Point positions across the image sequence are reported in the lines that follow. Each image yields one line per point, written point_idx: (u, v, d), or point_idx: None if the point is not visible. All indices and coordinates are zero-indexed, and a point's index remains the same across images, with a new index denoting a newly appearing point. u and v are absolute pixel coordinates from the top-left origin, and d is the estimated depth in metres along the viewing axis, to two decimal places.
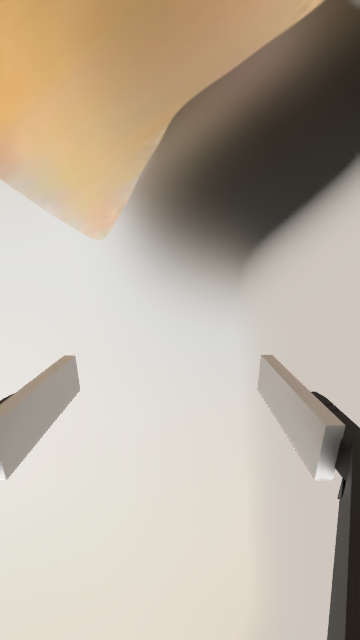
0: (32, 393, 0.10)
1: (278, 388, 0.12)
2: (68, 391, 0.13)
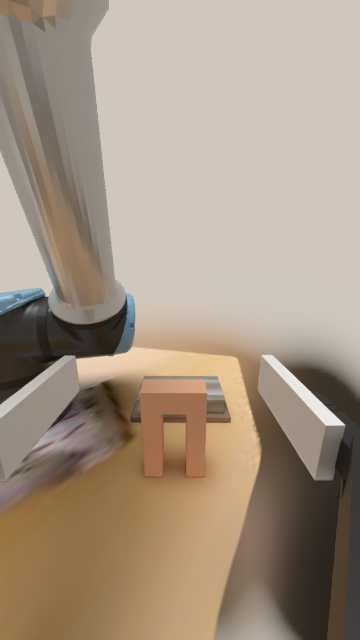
0: (32, 393, 0.10)
1: (278, 388, 0.12)
2: (68, 391, 0.13)
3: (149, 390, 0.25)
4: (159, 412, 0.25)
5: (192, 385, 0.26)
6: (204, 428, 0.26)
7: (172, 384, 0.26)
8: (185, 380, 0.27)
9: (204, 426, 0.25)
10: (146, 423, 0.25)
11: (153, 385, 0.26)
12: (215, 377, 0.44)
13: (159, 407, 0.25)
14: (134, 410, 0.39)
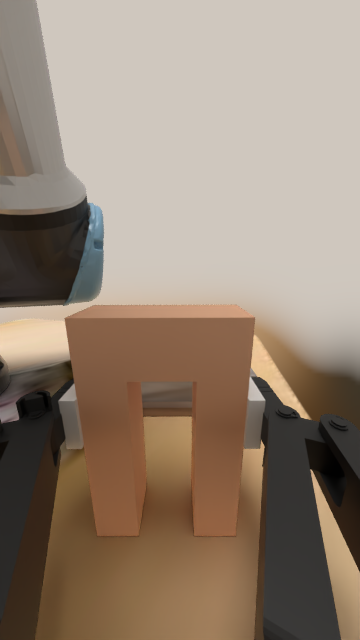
0: None
1: None
2: None
3: (95, 315, 0.09)
4: (122, 376, 0.09)
5: (210, 310, 0.10)
6: (242, 419, 0.10)
7: (159, 308, 0.10)
8: (190, 305, 0.11)
9: (241, 415, 0.10)
10: (91, 405, 0.10)
11: (110, 310, 0.10)
12: None
13: (122, 361, 0.09)
14: None
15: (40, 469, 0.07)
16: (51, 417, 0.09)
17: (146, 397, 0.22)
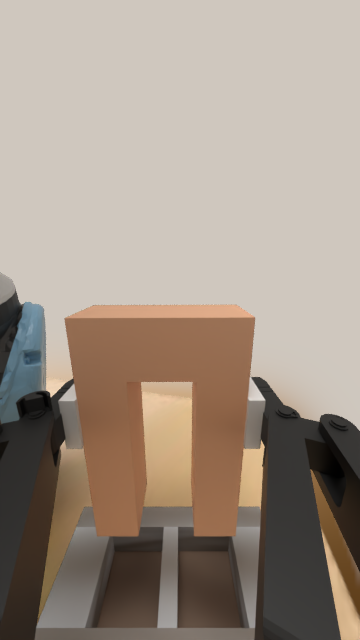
0: None
1: None
2: None
3: (95, 315, 0.09)
4: (122, 376, 0.09)
5: (210, 310, 0.10)
6: (242, 419, 0.10)
7: (159, 309, 0.10)
8: (190, 305, 0.11)
9: (241, 415, 0.10)
10: (90, 406, 0.10)
11: (110, 310, 0.10)
12: (255, 512, 0.18)
13: (122, 361, 0.09)
14: None
15: (40, 469, 0.07)
16: (51, 417, 0.09)
17: None
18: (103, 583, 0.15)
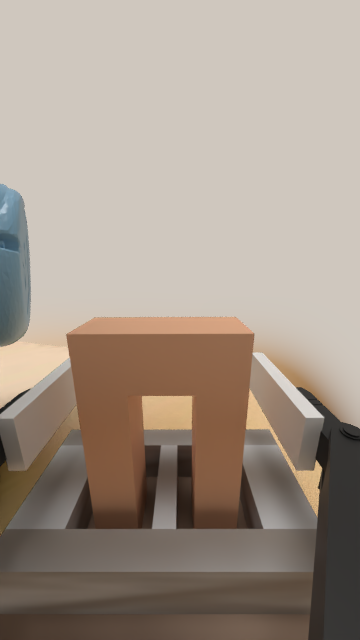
0: (48, 388, 0.10)
1: (266, 384, 0.12)
2: None
3: (96, 330, 0.09)
4: (123, 390, 0.09)
5: (209, 324, 0.10)
6: (241, 432, 0.10)
7: (160, 322, 0.11)
8: (190, 318, 0.11)
9: (240, 428, 0.10)
10: (92, 419, 0.10)
11: (111, 324, 0.10)
12: (265, 433, 0.16)
13: (123, 376, 0.09)
14: None
15: None
16: None
17: (84, 607, 0.10)
18: (90, 499, 0.13)
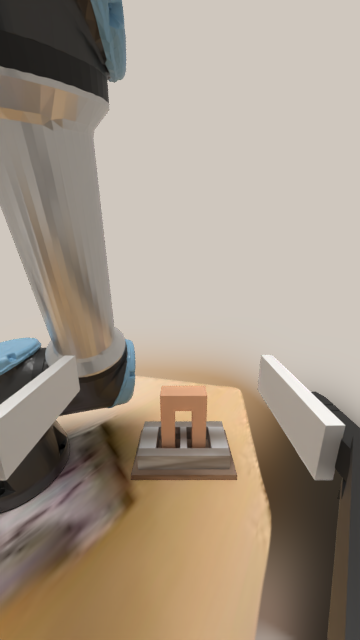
0: (32, 393, 0.10)
1: (278, 388, 0.12)
2: (68, 391, 0.13)
3: (166, 394, 0.35)
4: (173, 409, 0.36)
5: (196, 390, 0.36)
6: (205, 420, 0.36)
7: (182, 389, 0.37)
8: (191, 386, 0.38)
9: (205, 419, 0.36)
10: (164, 417, 0.36)
11: (169, 390, 0.36)
12: (219, 423, 0.42)
13: (173, 406, 0.35)
14: (135, 465, 0.37)
15: None
16: None
17: (163, 467, 0.36)
18: (157, 444, 0.39)
